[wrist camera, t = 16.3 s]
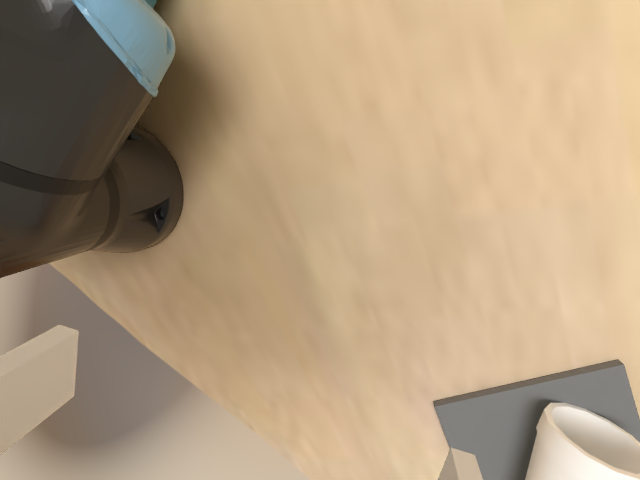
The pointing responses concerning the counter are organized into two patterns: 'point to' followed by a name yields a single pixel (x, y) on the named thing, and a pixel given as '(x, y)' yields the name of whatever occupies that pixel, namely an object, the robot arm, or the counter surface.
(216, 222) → the counter surface
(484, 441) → the mat
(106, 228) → the robot arm
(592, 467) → the foam cup
